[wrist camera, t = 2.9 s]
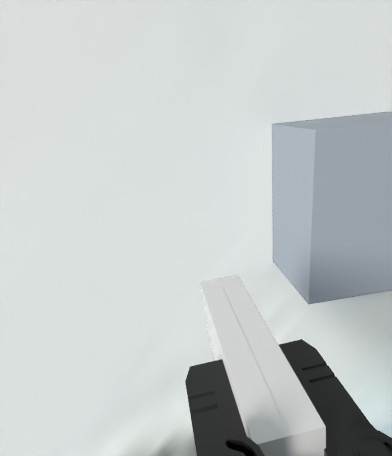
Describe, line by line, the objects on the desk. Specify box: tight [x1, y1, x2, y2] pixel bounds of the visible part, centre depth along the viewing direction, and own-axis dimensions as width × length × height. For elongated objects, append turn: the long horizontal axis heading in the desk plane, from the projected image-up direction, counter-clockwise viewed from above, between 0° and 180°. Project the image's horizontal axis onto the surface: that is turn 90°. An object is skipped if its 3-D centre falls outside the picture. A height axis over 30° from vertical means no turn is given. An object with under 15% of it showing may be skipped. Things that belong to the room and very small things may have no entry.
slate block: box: [272, 112, 392, 304], centre depth 21 cm, size 10×8×6 cm
